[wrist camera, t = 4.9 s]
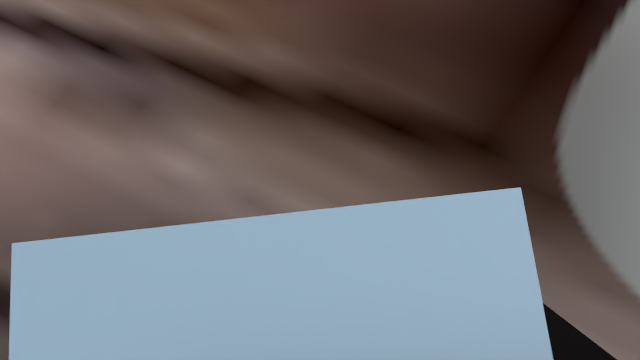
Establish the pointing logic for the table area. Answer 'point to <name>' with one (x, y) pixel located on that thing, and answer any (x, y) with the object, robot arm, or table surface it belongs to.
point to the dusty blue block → (291, 287)
